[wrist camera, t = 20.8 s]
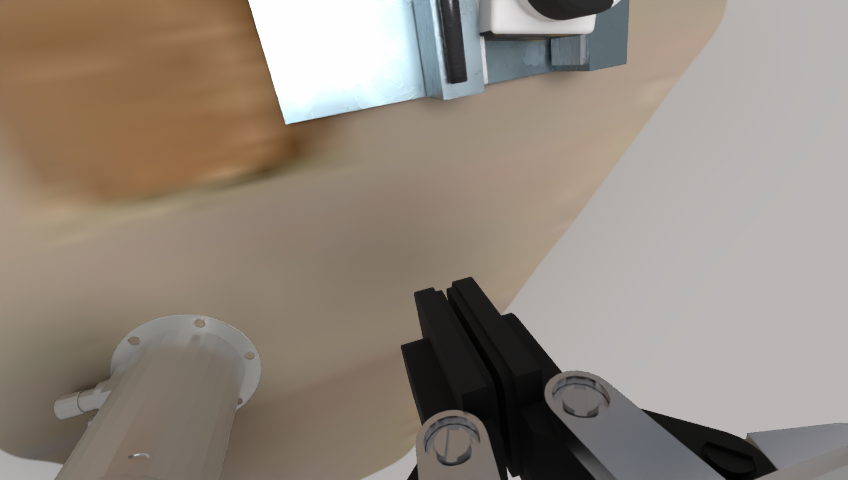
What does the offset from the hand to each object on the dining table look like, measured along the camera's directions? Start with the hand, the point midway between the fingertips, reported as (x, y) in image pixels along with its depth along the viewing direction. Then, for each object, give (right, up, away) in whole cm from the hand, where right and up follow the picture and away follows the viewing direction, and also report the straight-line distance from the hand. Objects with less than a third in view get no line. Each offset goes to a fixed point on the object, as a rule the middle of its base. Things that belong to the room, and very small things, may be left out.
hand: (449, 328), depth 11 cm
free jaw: (0, +19, +18) cm, 26 cm away
